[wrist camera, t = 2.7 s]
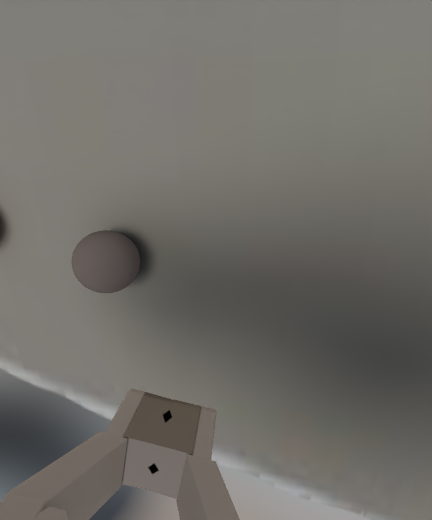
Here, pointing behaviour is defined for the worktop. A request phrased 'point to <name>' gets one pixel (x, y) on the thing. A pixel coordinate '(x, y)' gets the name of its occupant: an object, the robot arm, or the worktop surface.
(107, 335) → the worktop surface
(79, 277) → the dark gray ball
